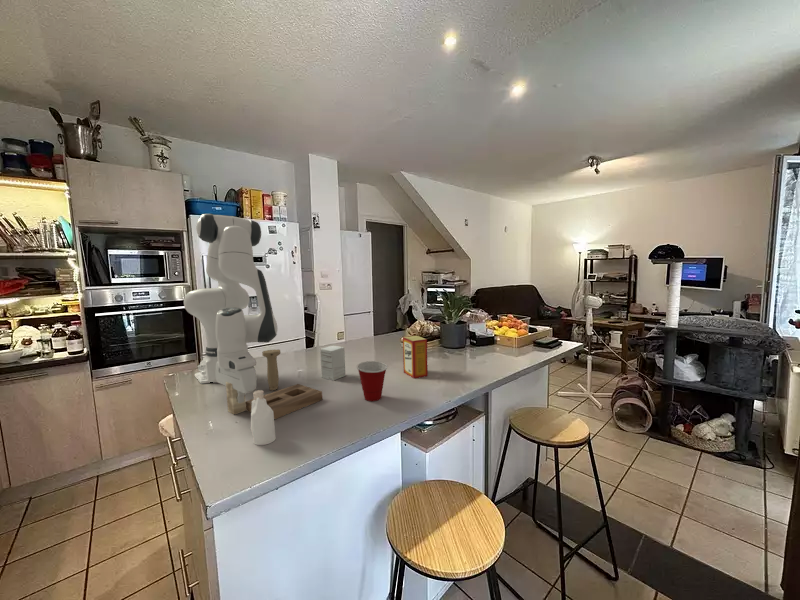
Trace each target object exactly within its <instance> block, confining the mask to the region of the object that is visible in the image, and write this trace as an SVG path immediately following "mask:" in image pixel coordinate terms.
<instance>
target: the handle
mask: <svg viewBox="0 0 800 600" xmlns="http://www.w3.org/2000/svg"><path fill="white" fill-rule="evenodd" d="M280 354H281V349H267V350H263V351H262V356H263V357H264V358H266V360H267V362H266V363H267V366H266V367H267V368H266V369H267V370H266V371H267V372H266V375H267V376H266V377H267V378H266V379H267V384H268V388H269V391H273V390H274V391H277V390H279V381H280V380H279V379H280V378H279V369H278V362H277V361H278V360H277V357H278V356H280ZM276 389H277V390H276Z"/></svg>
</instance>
